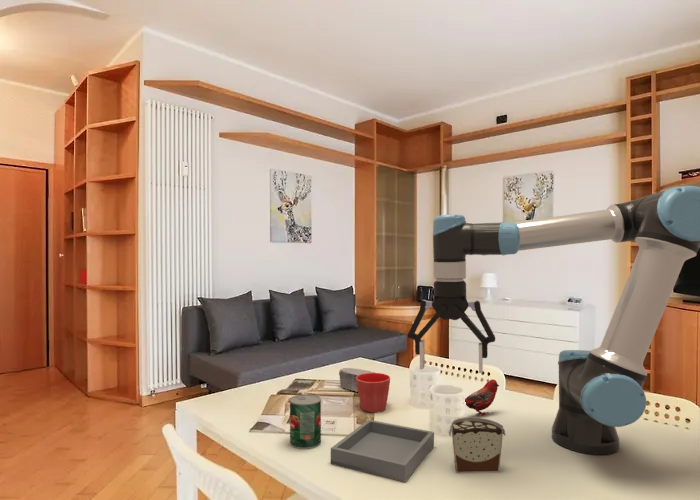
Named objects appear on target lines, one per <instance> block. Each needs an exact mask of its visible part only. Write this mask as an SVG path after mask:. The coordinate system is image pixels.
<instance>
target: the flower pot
mask: <svg viewBox="0 0 700 500" xmlns="http://www.w3.org/2000/svg"><path fill="white" fill-rule="evenodd" d="M356 382H357V389H358V393H357V394H358V398H359V399H358V400H359V404H360V405H359V406H360V409H361V410H362V409H363V410H366V411H370V412H369V413H381V412H383V411H385V410H386V408H387V404H388V399H389V391H390V383H391V376H390V375H389V374H386V373H381V372H375V373H364V374H360V375H358V376H357V377H356ZM363 410H362V411H363ZM366 411H365V412H366Z"/></svg>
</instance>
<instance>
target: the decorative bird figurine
mask: <svg viewBox="0 0 700 500" xmlns="http://www.w3.org/2000/svg"><path fill="white" fill-rule="evenodd" d="M498 387H500V384H499V383H498V382H497V380H495V379H490V380H488V381H487V382H486V383H485V384H484V386H483V387H482V388H480V389H478V390H476V391H474V392H473V393H471V394H470V395H468V396H467V397H466V398H464V399H465V402H466V405H465V406H467V408H469V409H470V410H471V409H473V410H475V411H476V412H477V413H476V414H475V416H485V415H486V414H488V413H490V412H489V411H483V410H486V409H488V408H489V407H490V406H491V405H492V404H493V402H494V400H495V398H496V394H497V391H498Z"/></svg>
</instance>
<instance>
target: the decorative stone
mask: <svg viewBox="0 0 700 500" xmlns="http://www.w3.org/2000/svg"><path fill="white" fill-rule="evenodd" d="M364 373H376V371H370V370H365V369H360V368H355V367H353V368H352V367H343V368H340V369H339V372H338V375H339V381H340V383H339V384H340V387H341V388H342V389H343V388H345V389H344V390H346V389H348V390H347V391H349V390H351V391H350V392H352V391H355V392H358V389H357V382H356V377H357V376H358V375H360V374H364ZM355 392H354V393H355Z"/></svg>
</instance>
